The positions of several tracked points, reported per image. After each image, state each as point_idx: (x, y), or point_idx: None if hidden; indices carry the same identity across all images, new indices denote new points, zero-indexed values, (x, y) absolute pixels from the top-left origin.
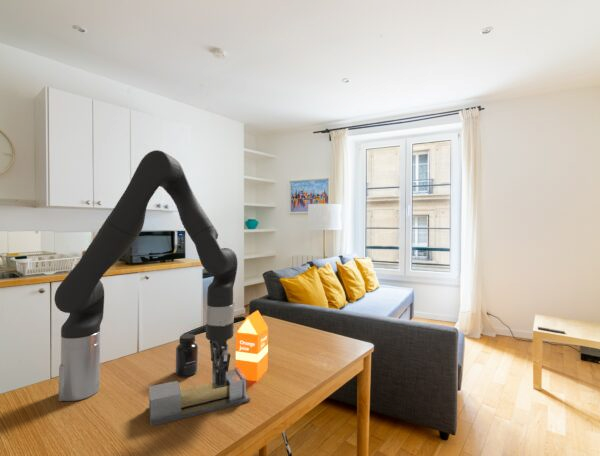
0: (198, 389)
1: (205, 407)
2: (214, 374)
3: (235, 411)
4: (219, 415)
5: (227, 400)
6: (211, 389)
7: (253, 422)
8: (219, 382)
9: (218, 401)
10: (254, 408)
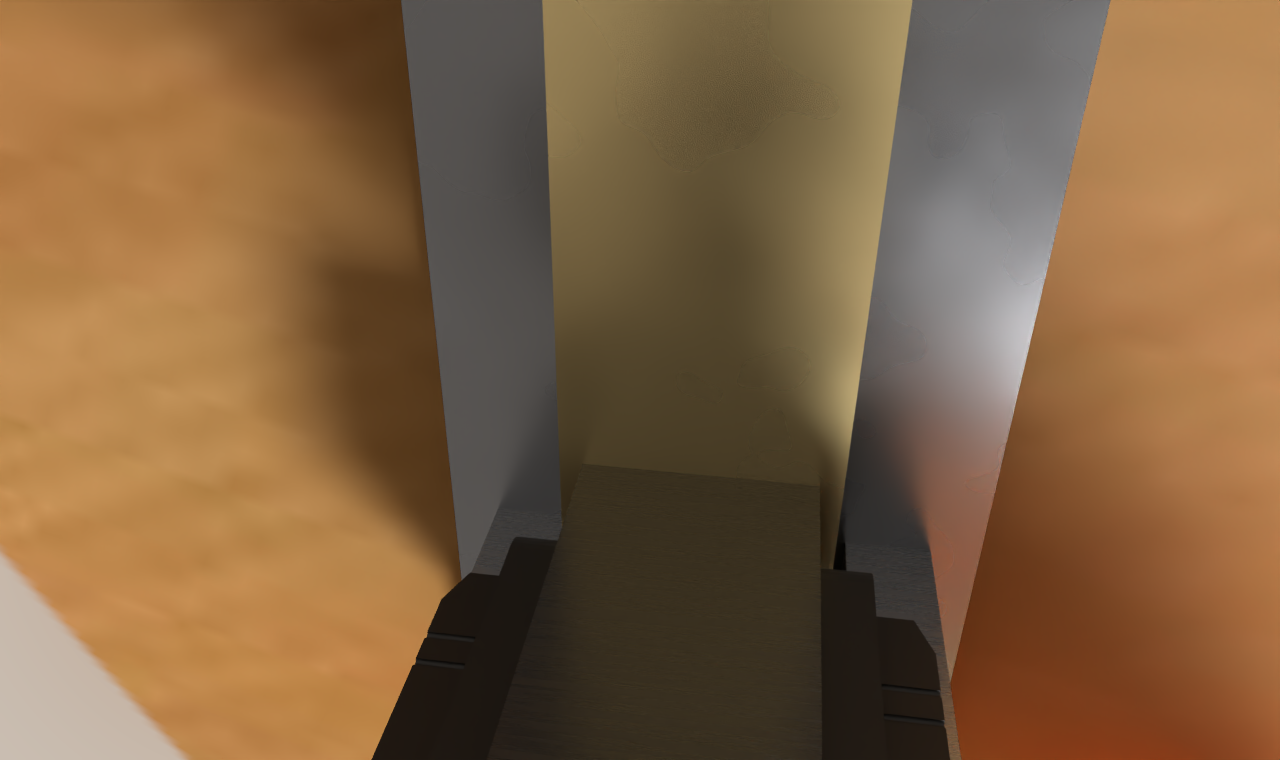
0: (696, 161)
1: (455, 146)
2: (569, 678)
3: (326, 477)
4: (296, 279)
5: (527, 490)
6: (561, 399)
7: (49, 549)
8: (441, 614)
9: None
10: (319, 657)
